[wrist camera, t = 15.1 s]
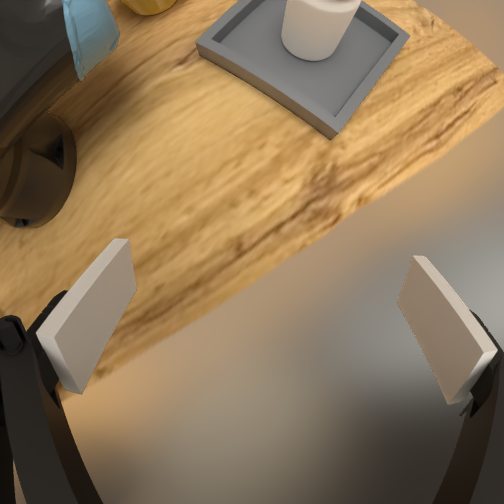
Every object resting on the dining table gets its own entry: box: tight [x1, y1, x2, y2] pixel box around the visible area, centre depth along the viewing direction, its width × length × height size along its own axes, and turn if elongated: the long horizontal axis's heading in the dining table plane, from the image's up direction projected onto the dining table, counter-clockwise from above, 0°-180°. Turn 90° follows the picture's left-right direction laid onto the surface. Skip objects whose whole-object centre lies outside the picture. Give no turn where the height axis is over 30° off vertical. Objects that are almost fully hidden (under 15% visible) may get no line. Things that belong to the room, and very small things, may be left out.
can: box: [281, 0, 361, 61], centre depth 23 cm, size 6×6×12 cm
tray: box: [195, 0, 410, 140], centre depth 28 cm, size 18×18×3 cm
